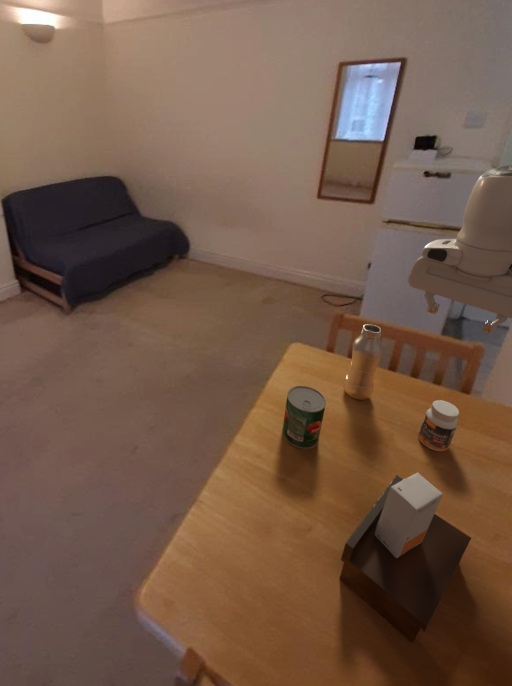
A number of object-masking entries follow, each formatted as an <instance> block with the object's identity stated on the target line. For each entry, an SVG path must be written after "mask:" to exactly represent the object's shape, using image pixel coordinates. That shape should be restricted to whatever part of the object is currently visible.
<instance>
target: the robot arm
mask: <svg viewBox="0 0 512 686" xmlns="http://www.w3.org/2000/svg"><path fill="white" fill-rule="evenodd" d="M420 255H421V256H420V257H418V258H417V259H416V260H415V261H414V263H413V265H412V266H411V269H410V270H409V271H410V272H409V274H408V277H407V284H408V285H409V286H410V287H411V288H413V289H417V290H420V291H423V292H425V293H424V298H425V300H426V303H427V308H426V312H427V313H430V314H433V315H436V313H438V311H439V308H440V305H441V304H440V303H437V302H436V299H435V297H434V296H439V297H441V298H446V299H449V300H452V301H455V302H458V303H462V304H465V305H468V306H471V307H474V308H478V309H481V310H482V311H483V310H484V311H486V312H489V313H493V314H496V316H495V320H493V321H492V320H489V319H488V320H487V321H486V322H485V323H484V324H483V328H482V332H485V333H487V334H490V335H493V333H494V332H495V330H496V328H497V327H498V326H500V325H502V324H503V323H505V322H506V321H507V320H508V319H512V165H510V164H509V165H503V166H499V167H498V166H497V167H494V168H491V169H488V170H486V171H485V172H483V173H482V174H481V175H480V176H479V177H478V179H477V180H476V182H475V184H474V186H473V188H472V190H471V192H470V194H469V197H468V199H467V202H466V205H465V208H464V213H463V224H462V226H461V228H460V230H459V231H458V233H457V235H456V237H455V238H442V239H441V238H440V239H435V240H433V241H431V242H429V243H427V244H426V245H425V246H424V247H422V250H421V254H420Z"/></svg>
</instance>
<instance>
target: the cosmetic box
mask: <svg viewBox="0 0 512 686" xmlns="http://www.w3.org/2000/svg"><path fill="white" fill-rule="evenodd" d="M402 479H403V480H402V481H400V482H399V483H397V484H395V485H393V486H391V488H390V490H389V493H388V496H387V499H386V502H385V505H384V508H383V510H382V513H381V516H380V519H379V522H378V524H377V527H376V530H375V533H374V535H375V536H376V537H377V538H378V539H379V540H380V541H381V542H382V544H383V545H384V546H385V547H386V548H387V549H388V550H389V551H390V552H391V553H392V554H393V556H394V557H395V558H398V557H399V556H401V555H402V554H404V553H405V552H407V551H408V550H410V549H412V548H413V547H415V546H417V545H418V544H420V543H422V541H423V538H424V536H425V534H426V532H427V529H428V527H429V525H430V523H431V520H432V518H433V516H434V514H436V511H437V510H438V507H439V505H440V502H441V500H442V498H443V495H444V494H443V492H442V491H440V490H439V489H438V488H436V487H435V486H434V485H433V484H432V483H431V482H430V481H428V479H426V478H425V477H424V476H423V475H421V474H420V473H419V472H416V473H414V474H411V475H409V476H408V477H405V478H402Z"/></svg>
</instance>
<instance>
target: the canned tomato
mask: <svg viewBox="0 0 512 686" xmlns="http://www.w3.org/2000/svg"><path fill="white" fill-rule="evenodd" d="M326 405H327V400H326V398H325V396H324V395H323V394H322V393H321V392H320V391H319V390H317V389H315V388H313V387H311V386H306V385H296V386H293V387H291V388H290V389H289V390H288V391H287V393H286V402H285V410H284V417H283V423H282V429H281V432H282V433H281V434H282V436H283V438H284V440H285V441H286V442H287V443H288V444H290V445H291V446H293V447H295V448H298V449H302V450H303V449H304V450H306V449H308V450H309V449H312V448H314V447H316V446H317V445H318V443H319V440H320V434H321V429H322V425H323V420H324V414H325V410H326Z"/></svg>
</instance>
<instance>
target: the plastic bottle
mask: <svg viewBox="0 0 512 686" xmlns="http://www.w3.org/2000/svg"><path fill="white" fill-rule="evenodd" d="M381 333H382V329H381V327H379V326H378V325H375V324H371V323H366V324H363V326H362V330H361V334H360V335H359V336H357V337H356V338H355V339H354V341H353V342H352V350H351V351H352V353H351V361H350V366H349V368H348V371H347V374H346V376H345V378H344V380H343V390H344V391H345V393H346V395H347V396H349V397H350V398H353V399H356V400H361V401H363V400H366V399H369V398H370V397H371V396H372V394H373V392H374V385H375V384H374V380H375V374H376V370H377V367H378V365H379V362H380V360H381V358H382V356H383V354H384V351H385V350H384V345H383V343H382V341H381V340H380V339H381Z"/></svg>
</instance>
